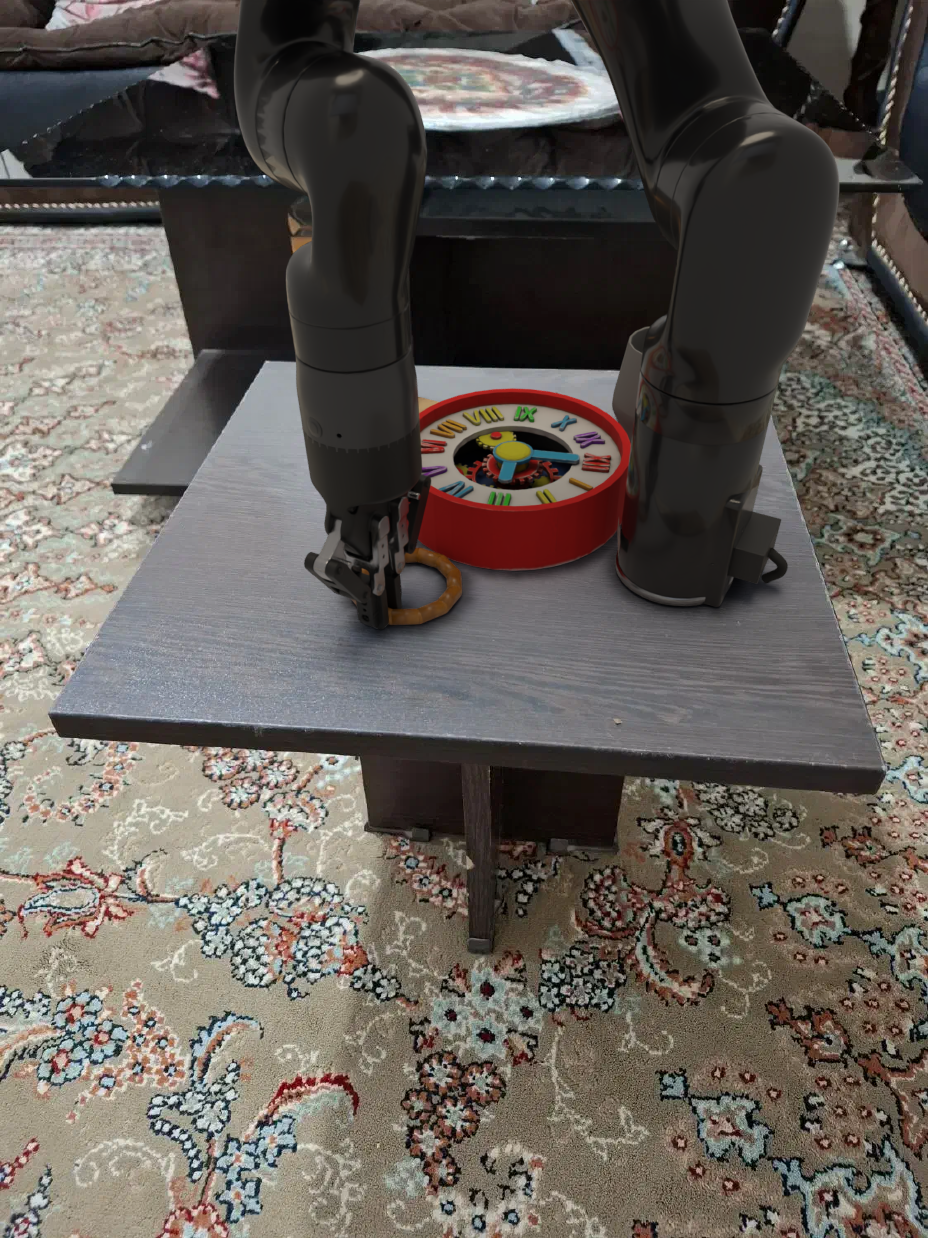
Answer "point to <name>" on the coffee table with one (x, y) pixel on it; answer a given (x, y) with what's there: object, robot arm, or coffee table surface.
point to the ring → (444, 600)
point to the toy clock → (521, 478)
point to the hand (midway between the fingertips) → (381, 616)
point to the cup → (629, 382)
